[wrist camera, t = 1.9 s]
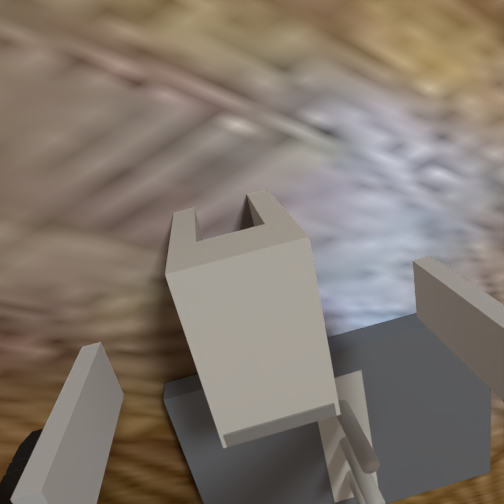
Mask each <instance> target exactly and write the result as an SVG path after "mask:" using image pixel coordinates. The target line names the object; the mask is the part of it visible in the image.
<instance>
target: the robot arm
mask: <svg viewBox="0 0 504 504" xmlns="http://www.w3.org/2000/svg"><path fill="white" fill-rule="evenodd" d="M413 270H414V283H415V296H416V309H417V317H418V318H419V319H420V320H421V321H422V322H423V323H424V324H425V325H426V326H427V327H428V328H429V329H430V330H431V331H432V332H433V333H434V334H435V335H436V336H437V337H438V338H439V339H440V340H441V341H442V342H443V343H444V344H445V345H446V346H447V347H448V348H449V349H450V350H451V351H452V352H453V353H454V354H455V355H456V356H457V357H458V358H459V359H460V360H461V361H462V362H463V363H464V364H465V365H466V366H467V367H468V368H470V369H471V370H472V371H473V372H474V373H475V374H476V375H477V376H478V377H479V378H480V379H481V380H482V381H483V382H484V383H485V384H486V385H487V386H488V387H489V388H490V389H491V390H492V391H493V392H494V393H495V394H496V395H497V396H498V397H499V398H500V399H501V400H502V401H503V402H504V305H503V304H502V303H500V302H499V301H497V300H496V299H494V298H493V297H491V296H490V295H488V294H487V293H485V292H484V291H482V290H481V289H479V288H478V287H476V286H475V285H473V284H472V283H470V282H469V281H467V280H466V279H464V278H463V277H461V276H460V275H458V274H457V273H455V272H454V271H452V270H451V269H449V268H448V267H446V266H445V265H443V264H441V263H440V262H438V261H437V260H435V259H434V258H432V257H431V256H429V257H425V258H421V259H417V260H414V261H413ZM123 397H124V394H123V392H122V390H121V387H120V385H119V383H118V380H117V378H116V376H115V373H114V371H113V369H112V366H111V364H110V362H109V360H108V357H107V355H106V353H105V350H104V348H103V346H102V343H101V342H99V343H95V344H91V345H87V346H84V347H82V348H81V350H80V352H79V355H78V357H77V359H76V361H75V363H74V365H73V367H72V369H71V372H70V374H69V376H68V378H67V380H66V382H65V384H64V386H63V389H62V391H61V393H60V395H59V397H58V399H57V401H56V403H55V406H54V408H53V410H52V412H51V414H50V416H49V418H48V420H47V423H46V425H45V427H44V429H40V430H37V431H33V432H31V434H30V435H29V436H28V437H27V438H26V439H25V440H24V441H23V443H22V444H21V445H20V446H19V448H18V450H17V452H16V454H15V456H14V457H13V459H12V463H10V465H9V467H8V469H7V471H6V475H4V477H3V479H2V481H1V483H0V504H97V500H98V496H99V492H100V488H101V484H102V480H103V476H104V472H105V468H106V464H107V460H108V456H109V452H110V448H111V444H112V440H113V436H114V432H115V428H116V424H117V420H118V417H119V413H120V409H121V405H122V401H123Z"/></svg>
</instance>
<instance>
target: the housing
mask: <svg viewBox="0 0 504 504" xmlns="http://www.w3.org/2000/svg"><path fill="white" fill-rule="evenodd" d="M247 198H248V202H249V207H250V211H251V215H252V220H253V224H254V227H251V228H248V229H244V230H240V231H236V232H232V233H228V234H224V235H221V236H217V237H213V238H209V239H205V240H204V239H203V236H202V232H201V229H200V225H199V222H198V218H197V215H196V211H195V208H190V209H187V210H183V211H179V212H175V213H174V214H173V221H172V228H171V235H170V242H169V249H168V256H167V263H166V270H165V276H166V279H167V282H168V285H169V288H170V291H171V294H172V297H173V300H174V303H175V306H176V309H177V312H178V315H179V318H180V321H181V324H182V327H183V330H184V333H185V336H186V339H187V342H188V345H189V348H190V351H191V354H192V357H193V360H194V363H195V366H196V369H197V371H198V374H199V377H200V380H201V383H202V386H203V389H204V392H205V395H206V398H207V401H208V404H209V407H210V410H211V413H212V416H213V419H214V422H215V425H216V428H217V431H218V434H219V437H220V440H221V443H222V446H223V448H226V447H230V446H233V445H237V444H240V443H244V442H247V441H251V440H254V439H258V438H261V437H264V436H268V435H271V434H275V433H278V432H282V431H285V430H289V429H292V428H295V427H299V426H302V425H306V424H309V423H313V422H316V421H320V420H323V419H327V418H330V417H333V416H337V415H340V414H341V413H340V407H339V402H338V396H337V391H336V385H335V379H334V374H333V368H332V362H331V357H330V351H329V346H328V340H327V334H326V329H325V323H324V317H323V312H322V306H321V301H320V295H319V289H318V284H317V278H316V272H315V267H314V261H313V256H312V250H311V244H310V239H309V236H308V235H307V234H306V233H305V231H304V230H303V229H302V228H301V227H300V226H299V225H298V224H297V222H296V221H295V220H294V219H293V218H292V217H291V216H290V215H289V213H288V212H287V211H286V210H285V209H284V208H283V207H282V205H281V204H280V203H279V202H278V201H277V200H276V199H275V198H274V196H273V195H272V194H271V193H270V192H269V191H268V190H267V189H265V190H261V191H257V192H253V193H249V194H247Z"/></svg>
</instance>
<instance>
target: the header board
mask: <svg viewBox="0 0 504 504" xmlns="http://www.w3.org/2000/svg"><path fill="white" fill-rule="evenodd" d="M327 340H328V346H329V351H330V357H331V362H332V368H333V374H334V379H335V385H336V391H337V396H338V402H339V407H340V413H341V414H340V415H337V416H333V417H330V418H327V419H323V420H320V421H316V422H313V423H309V424H306V425H302V426H299V427H295V428H292V429H289V430H285V431H282V432H278V433H275V434H271V435H268V436H264V437H261V438H258V439H254V440H251V441H247V442H244V443H240V444H237V445H233V446H230V447H226V448H223V446H222V443H221V440H220V437H219V434H218V431H217V428H216V425H215V422H214V419H213V416H212V413H211V410H210V407H209V404H208V401H207V398H206V395H205V392H204V389H203V386H202V383H201V380H200V377H199V374H196V375H192V376H188V377H185V378H181V379H178V380H174V381H170V382H167V383H165V387H164V398H163V401H164V403H165V406H166V408H167V411H168V414H169V416H170V419H171V421H172V424H173V426H174V429H175V431H176V434H177V437H178V439H179V442H180V444H181V447H182V449H183V452H184V455H185V457H186V460H187V462H188V465H189V467H190V470H191V472H192V475H193V478H194V480H195V483H196V485H197V488H198V490H199V493H200V496H201V498H202V501H203V503H204V504H387V503H390V502H394V501H397V500H400V499H404V498H407V497H410V496H413V495H417V494H420V493H423V492H427V491H430V490H433V489H436V488H440V487H443V486H446V485H449V484H453V483H456V482H459V481H463V480H466V479H469V478H472V477H476V476H479V475H482V474H486V473H489V472H490V422H491V389H490V388H489V387H488V386H487V385H486V384H485V383H484V382H483V381H482V380H481V379H480V378H479V377H478V376H477V375H476V374H475V373H474V372H473V371H472V370H471V369H470V368H468V367H467V366H466V365H465V364H464V363H463V362H462V361H461V360H460V359H459V358H458V357H457V356H456V355H455V354H454V353H453V352H452V351H451V350H450V349H449V348H448V347H447V346H446V345H445V344H444V343H443V342H442V341H441V340H440V339H439V338H438V337H437V336H436V335H435V334H434V333H433V332H432V331H431V330H430V329H429V328H428V327H427V326H426V325H425V324H424V323H423V322H422V321H421V320H420V319H419V318H418V317H417V313H415V314H411V315H408V316H404V317H400V318H397V319H393V320H390V321H386V322H382V323H379V324H375V325H372V326H368V327H364V328H361V329H357V330H354V331H350V332H347V333H343V334H339V335H336V336H332V337H329V338H327Z"/></svg>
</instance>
